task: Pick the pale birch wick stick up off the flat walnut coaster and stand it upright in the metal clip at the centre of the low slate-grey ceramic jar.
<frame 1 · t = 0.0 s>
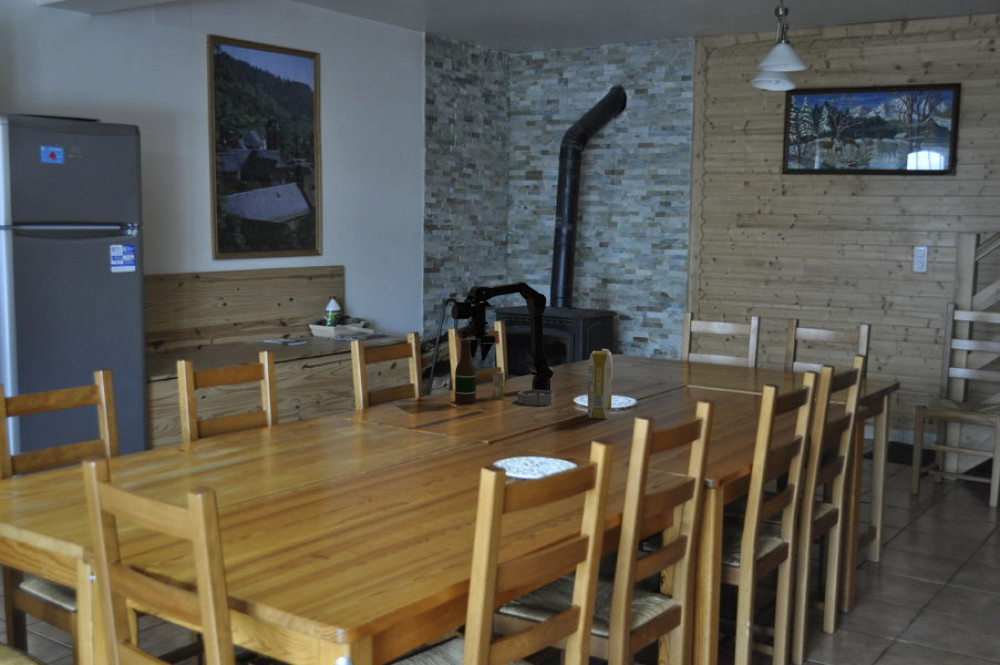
hand: (477, 359, 381), 15 cm above the table, tool pointing down, fingers open, 9 cm apart
wick: (497, 398, 376), point 1 cm above the table, touching coaster
coaster: (497, 399, 376), on the table
beer bottle: (465, 404, 367), on the table
jar: (535, 403, 370), on the table
juice carton: (599, 417, 348), on the table
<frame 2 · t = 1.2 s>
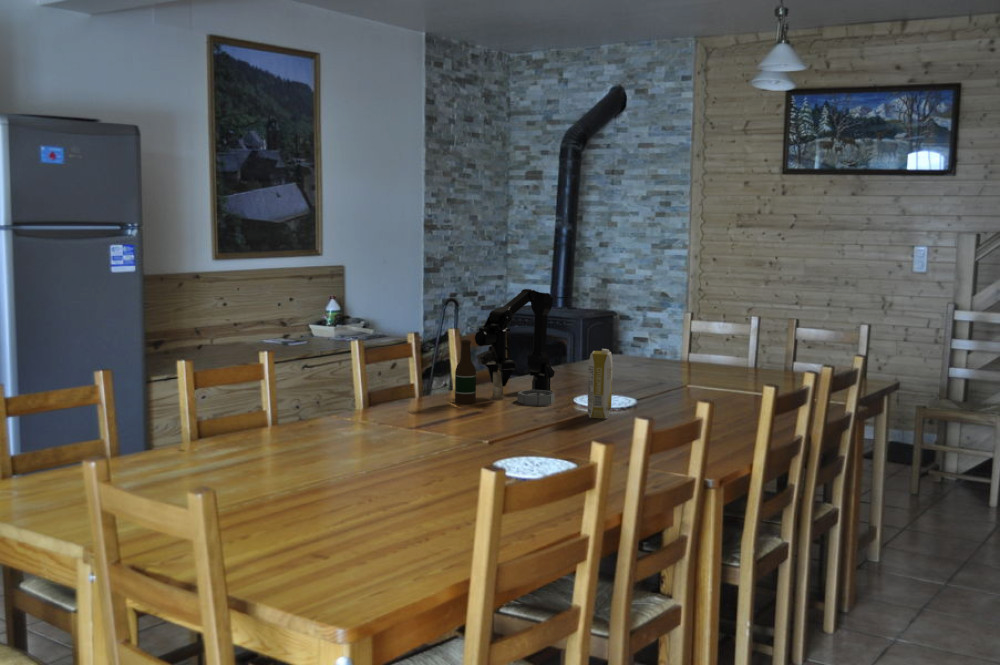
hand: (498, 384, 376), 6 cm above the table, tool pointing down, fingers open, 9 cm apart
nothing on the table moved.
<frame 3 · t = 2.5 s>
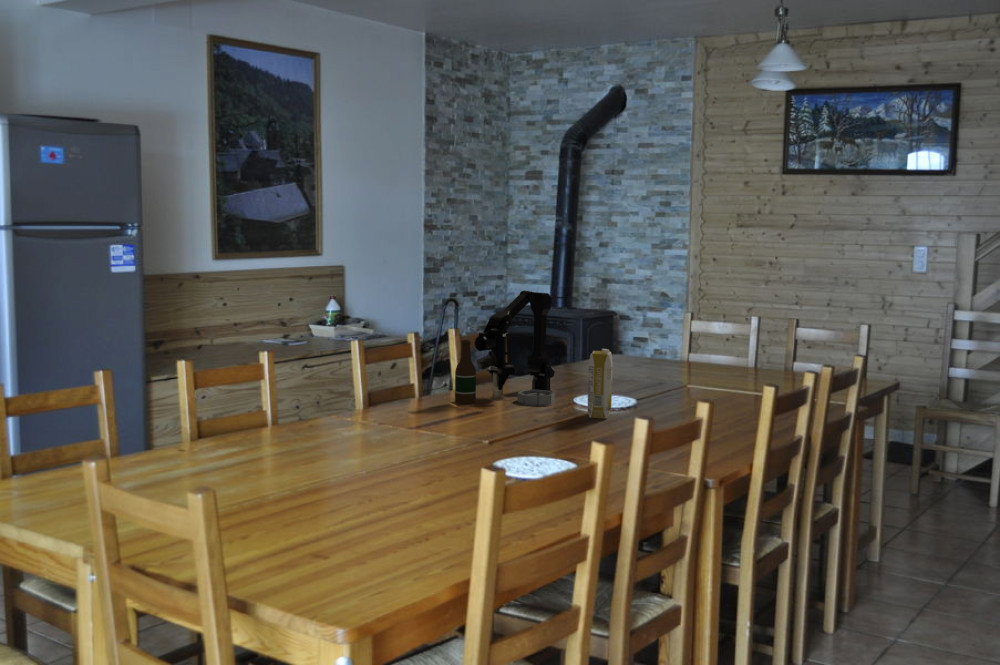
hand: (498, 389, 376), 4 cm above the table, tool pointing down, fingers closed on wick, 3 cm apart
wick: (497, 398, 376), point 1 cm above the table, touching coaster, gripper
everything else where it was.
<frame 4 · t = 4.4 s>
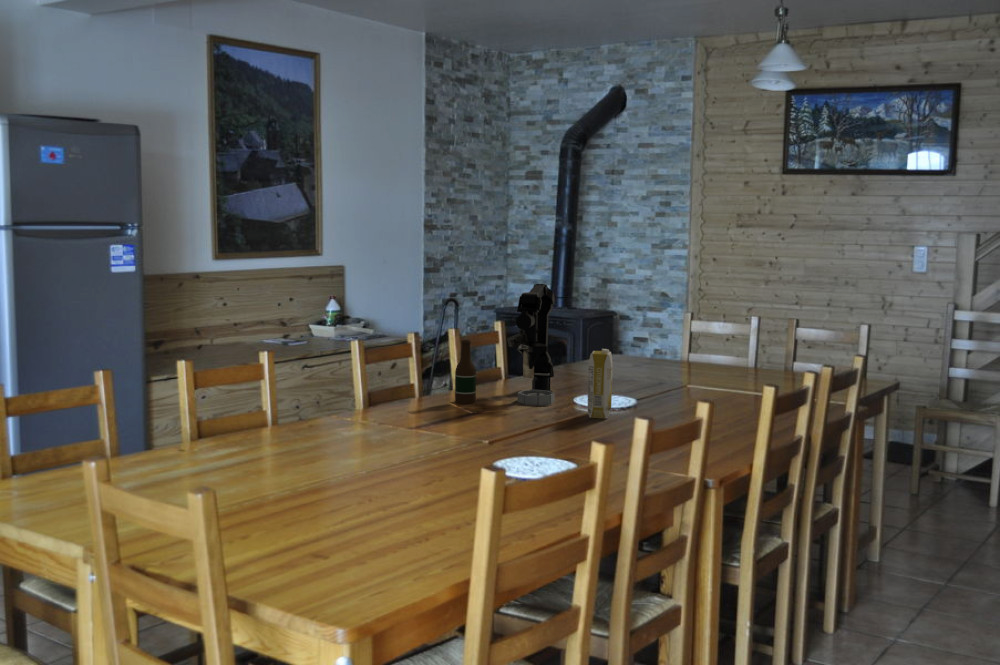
hand: (528, 368, 370), 13 cm above the table, tool pointing down, fingers closed on wick, 3 cm apart
wick: (528, 377, 370), point 10 cm above the table, touching gripper
everything else where it was.
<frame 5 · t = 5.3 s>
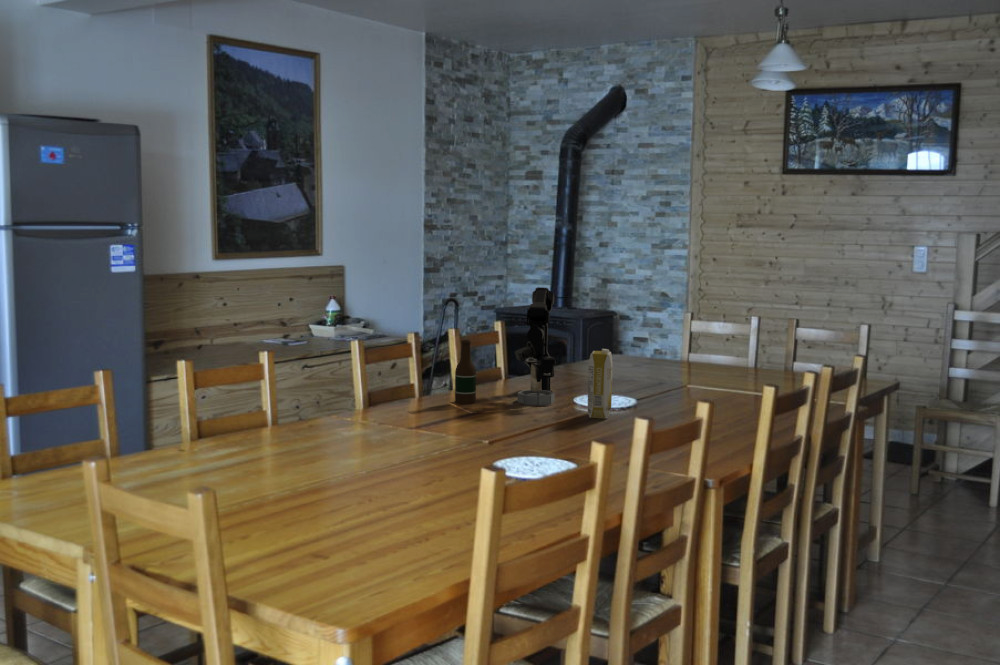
hand: (536, 381, 369), 8 cm above the table, tool pointing down, fingers closed on wick, 3 cm apart
wick: (536, 390, 370), point 5 cm above the table, touching gripper
everything else where it was.
when the fingers open (6 cm above the table, at t = 6.1 s): wick drops 1 cm, resting on jar.
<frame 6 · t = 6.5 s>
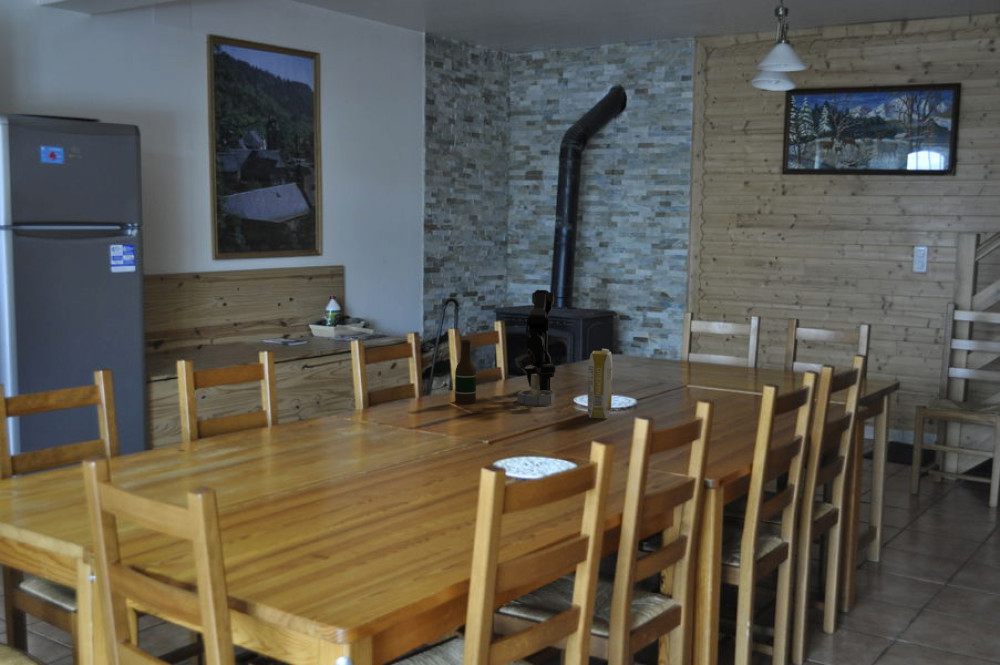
hand: (536, 388, 370), 6 cm above the table, tool pointing down, fingers open, 8 cm apart
wick: (535, 401, 370), point 1 cm above the table, touching jar
everything else where it was.
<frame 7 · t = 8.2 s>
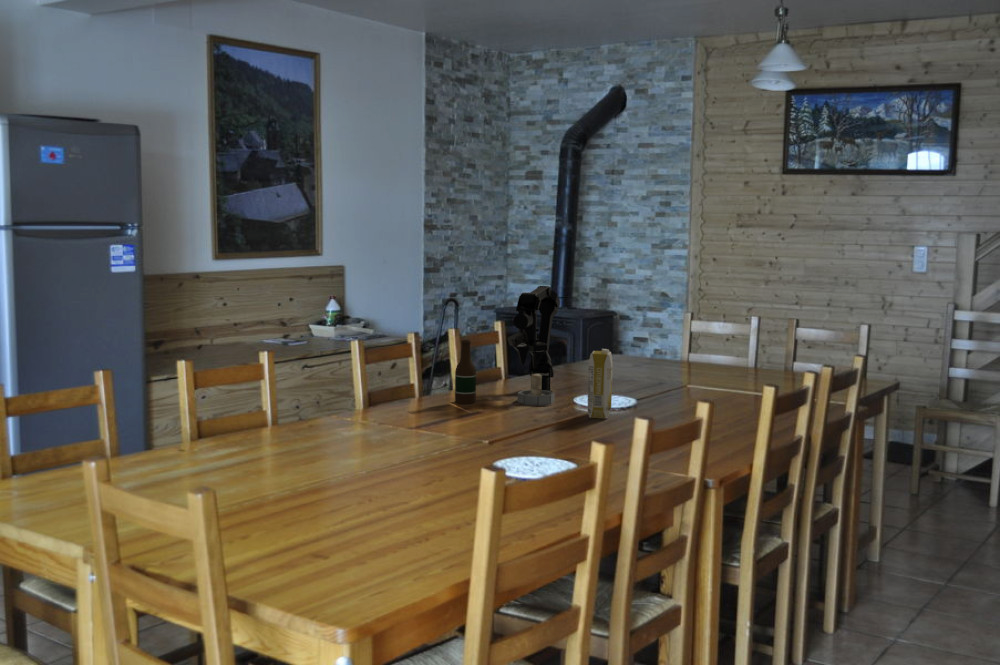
hand: (528, 366, 378), 13 cm above the table, tool pointing down, fingers open, 9 cm apart
nothing on the table moved.
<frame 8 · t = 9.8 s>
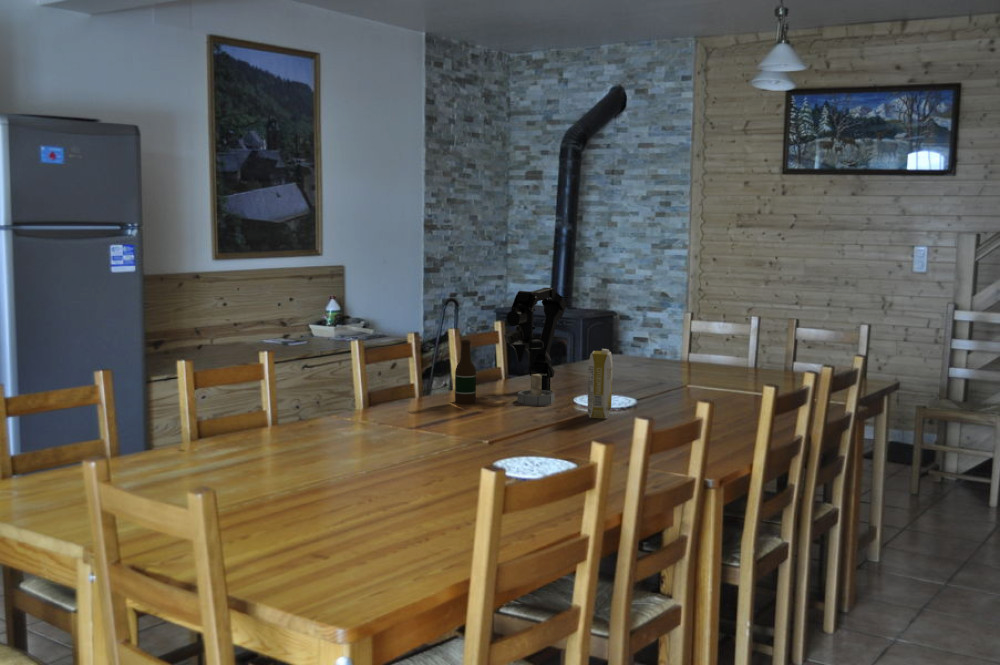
hand: (525, 363, 381), 13 cm above the table, tool pointing down, fingers open, 9 cm apart
nothing on the table moved.
at the end: wick 0.1 cm from the jar (horizontally); wick tilted 0°; wick point 0.8 cm above the table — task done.
